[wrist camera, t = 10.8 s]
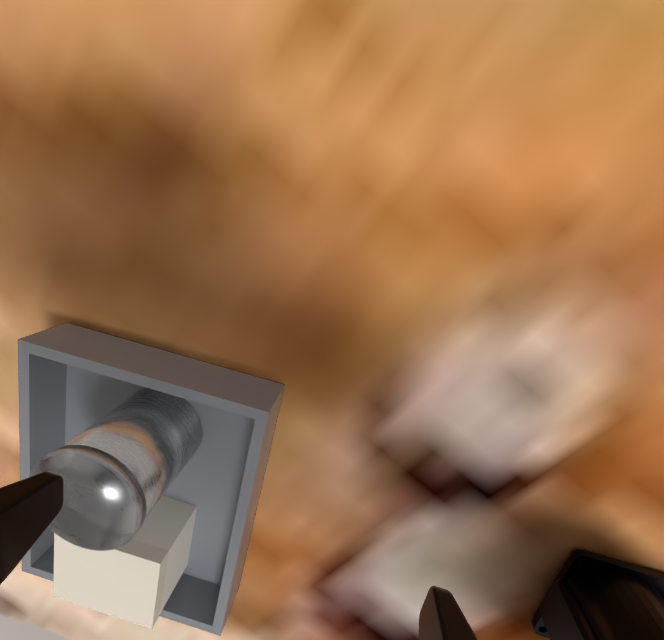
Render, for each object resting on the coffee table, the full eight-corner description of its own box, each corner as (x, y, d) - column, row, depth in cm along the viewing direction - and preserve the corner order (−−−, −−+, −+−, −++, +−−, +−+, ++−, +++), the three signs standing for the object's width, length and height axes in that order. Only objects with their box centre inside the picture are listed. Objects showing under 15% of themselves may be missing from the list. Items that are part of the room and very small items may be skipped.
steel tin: (198, 473, 22) (135, 564, 17) (118, 450, 23) (29, 531, 17) (209, 400, 21) (143, 472, 15) (123, 376, 21) (25, 437, 15)
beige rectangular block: (197, 506, 23) (160, 564, 19) (187, 564, 24) (151, 628, 21) (108, 478, 23) (54, 530, 19) (103, 537, 25) (53, 596, 21)
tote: (284, 384, 21) (269, 412, 18) (238, 588, 25) (220, 635, 22) (66, 322, 21) (17, 339, 18) (61, 531, 26) (21, 570, 23)
